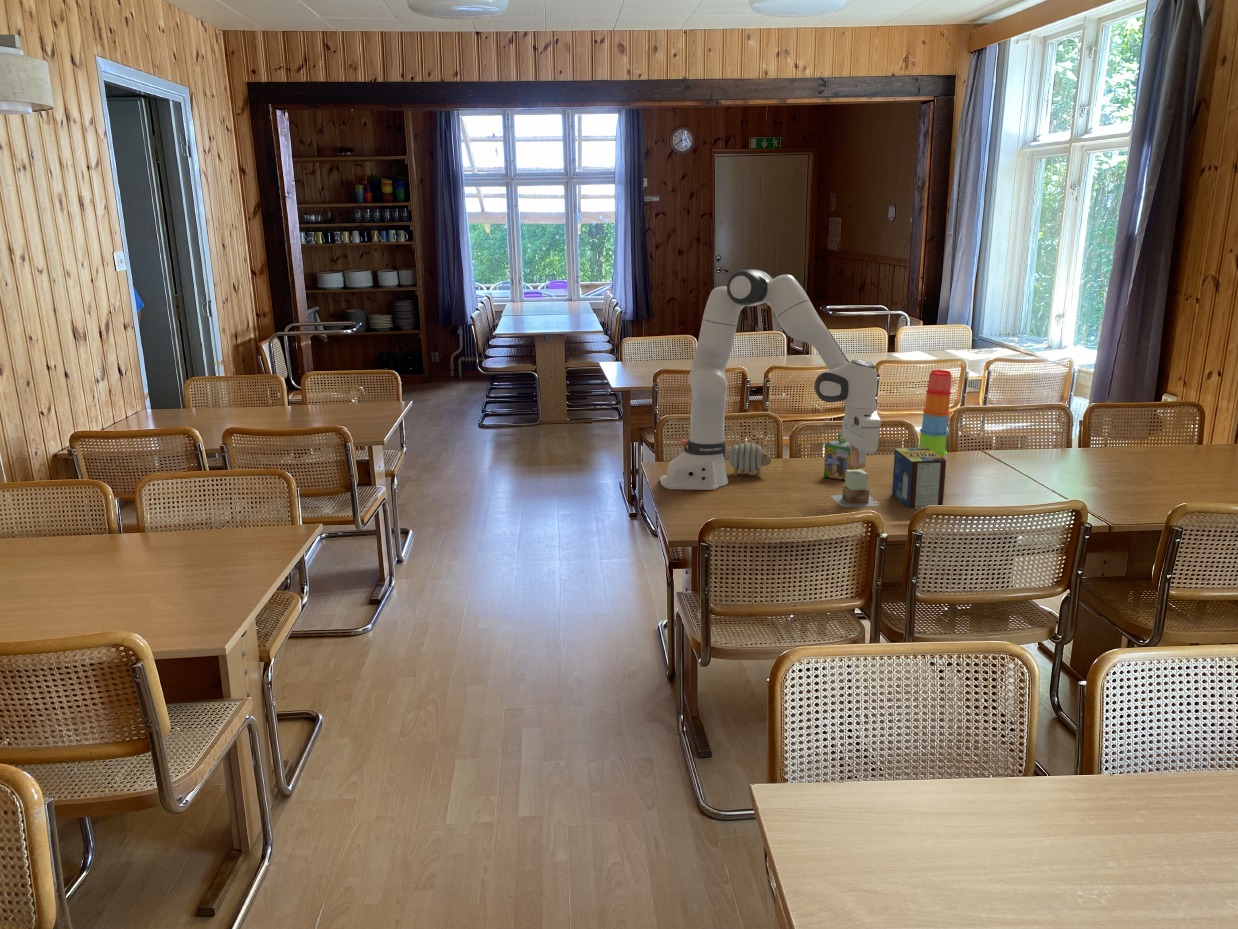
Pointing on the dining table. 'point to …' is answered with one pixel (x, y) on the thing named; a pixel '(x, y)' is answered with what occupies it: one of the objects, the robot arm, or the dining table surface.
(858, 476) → the sage block
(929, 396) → the stacking cups
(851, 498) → the walnut base block
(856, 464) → the terracotta cylinder
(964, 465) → the dining table surface
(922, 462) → the protein box
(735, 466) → the toy sheep
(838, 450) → the colorful toy box
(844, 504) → the slate board
